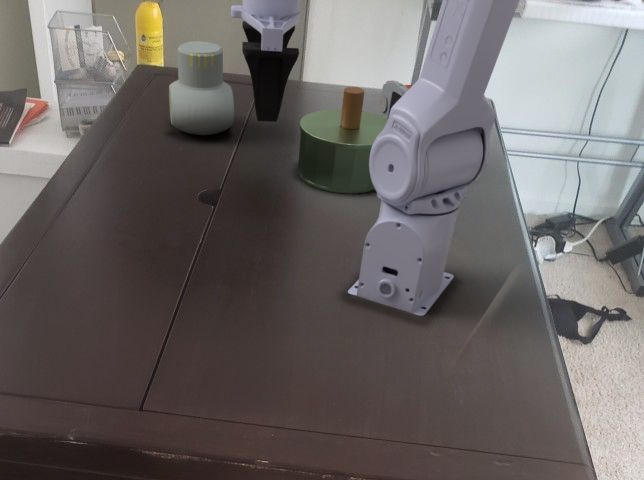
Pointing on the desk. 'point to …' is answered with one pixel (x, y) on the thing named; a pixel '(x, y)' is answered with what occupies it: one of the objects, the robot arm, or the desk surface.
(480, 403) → the desk surface
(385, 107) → the handheld gaming console
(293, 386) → the desk surface
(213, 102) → the air freshener
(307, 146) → the tin
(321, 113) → the lid
